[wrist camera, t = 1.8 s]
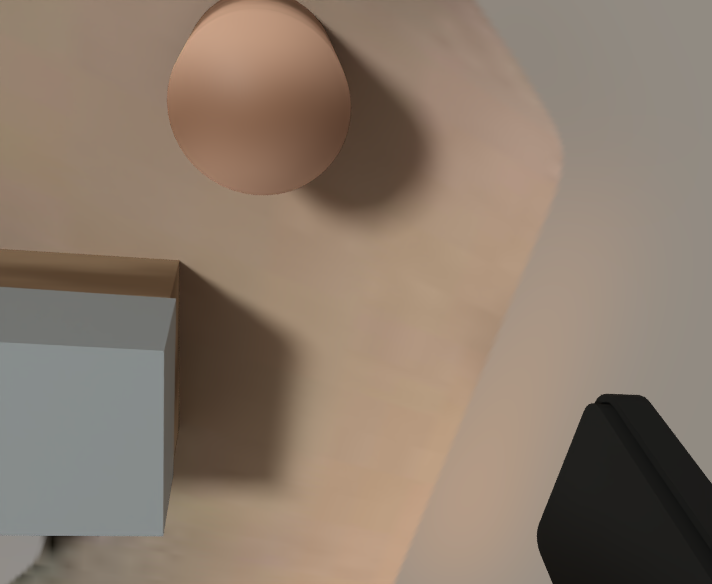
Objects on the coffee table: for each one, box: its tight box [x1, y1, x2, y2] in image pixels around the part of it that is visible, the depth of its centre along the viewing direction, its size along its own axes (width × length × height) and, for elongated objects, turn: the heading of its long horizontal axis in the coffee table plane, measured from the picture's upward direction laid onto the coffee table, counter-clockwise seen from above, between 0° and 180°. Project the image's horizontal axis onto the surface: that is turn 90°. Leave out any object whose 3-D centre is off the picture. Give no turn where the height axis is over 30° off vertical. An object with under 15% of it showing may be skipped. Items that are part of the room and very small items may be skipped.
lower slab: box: [0, 249, 179, 455], centre depth 33 cm, size 11×11×4 cm
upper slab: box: [0, 287, 176, 536], centre depth 29 cm, size 11×11×4 cm
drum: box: [167, 0, 351, 195], centre depth 26 cm, size 6×6×6 cm
